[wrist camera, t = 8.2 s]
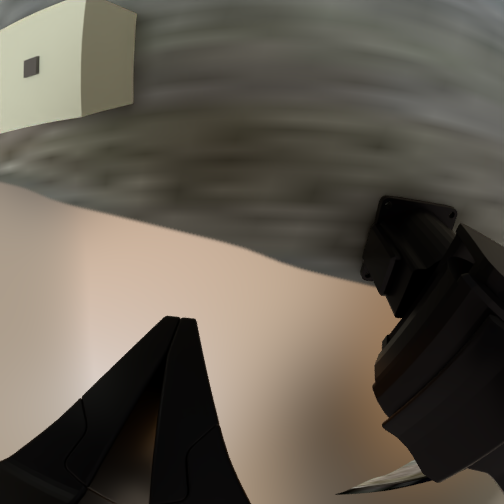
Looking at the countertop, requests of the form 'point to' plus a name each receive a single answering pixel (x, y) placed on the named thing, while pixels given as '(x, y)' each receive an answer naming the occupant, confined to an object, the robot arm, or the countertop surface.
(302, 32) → the countertop surface
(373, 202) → the countertop surface
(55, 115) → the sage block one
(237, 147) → the countertop surface
